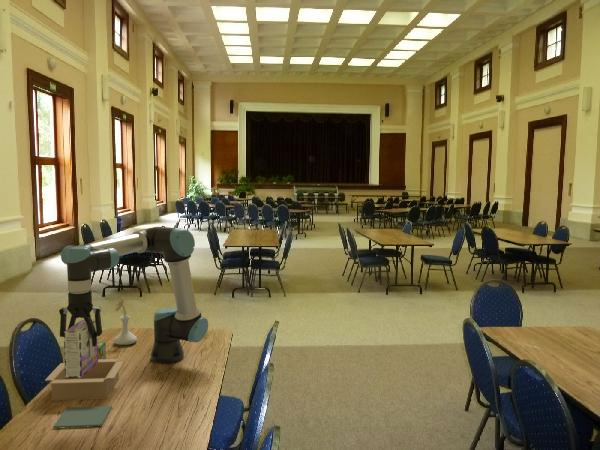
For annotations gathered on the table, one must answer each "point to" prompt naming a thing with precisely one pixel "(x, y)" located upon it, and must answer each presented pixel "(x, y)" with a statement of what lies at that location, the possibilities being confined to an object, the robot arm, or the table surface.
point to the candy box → (78, 350)
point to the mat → (83, 416)
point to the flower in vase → (124, 328)
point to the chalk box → (101, 350)
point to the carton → (85, 382)
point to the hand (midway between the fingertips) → (81, 355)
